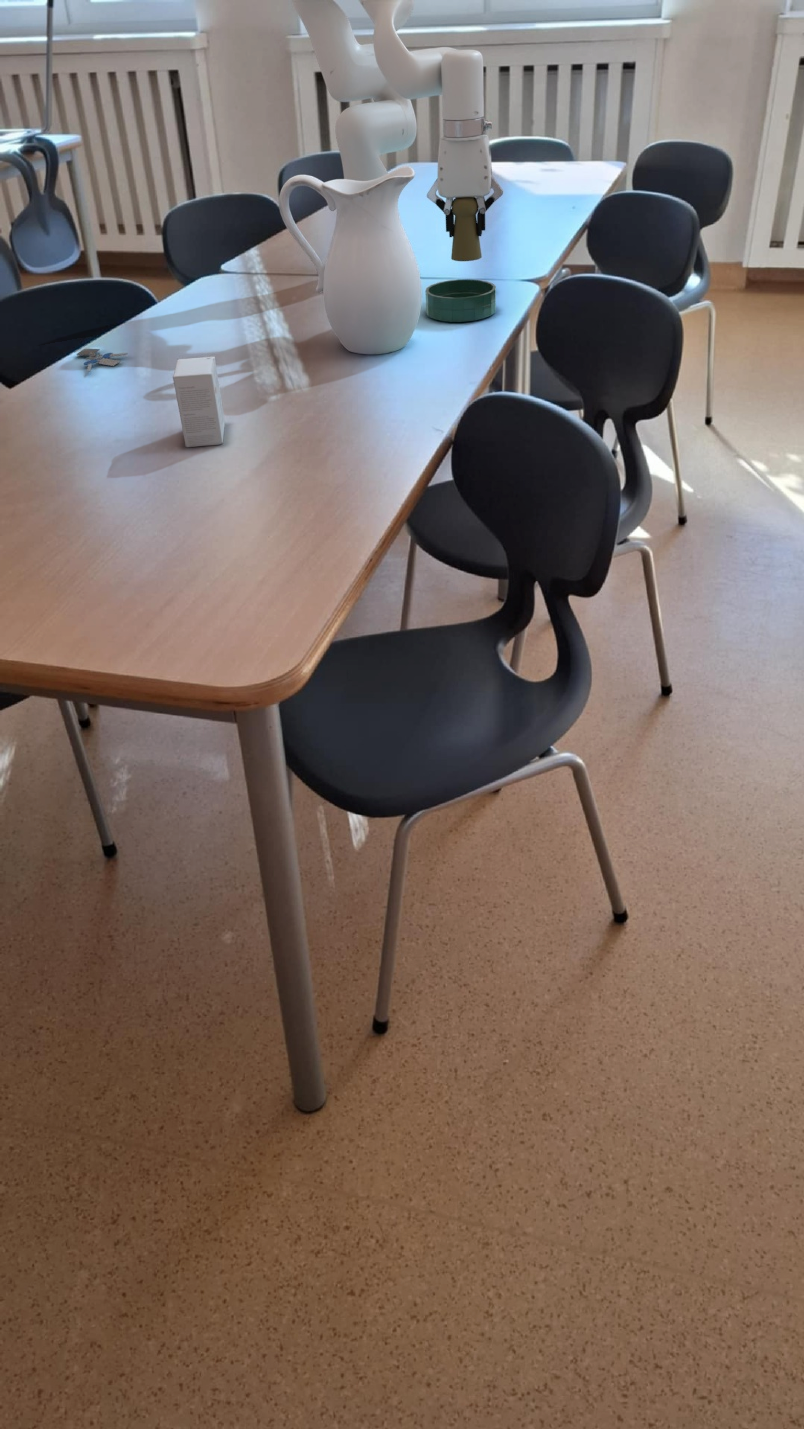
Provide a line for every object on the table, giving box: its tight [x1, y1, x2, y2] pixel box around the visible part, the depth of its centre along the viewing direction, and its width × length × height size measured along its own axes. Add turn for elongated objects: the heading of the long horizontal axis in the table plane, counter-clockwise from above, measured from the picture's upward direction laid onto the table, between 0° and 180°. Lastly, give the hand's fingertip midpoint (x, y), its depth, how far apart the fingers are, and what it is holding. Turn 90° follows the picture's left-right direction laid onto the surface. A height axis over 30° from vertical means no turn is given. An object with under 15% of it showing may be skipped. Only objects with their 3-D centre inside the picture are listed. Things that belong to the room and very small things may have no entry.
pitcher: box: [278, 165, 423, 355], centre depth 182 cm, size 24×17×28 cm
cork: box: [450, 197, 483, 262], centre depth 206 cm, size 6×6×11 cm
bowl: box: [424, 278, 497, 323], centre depth 201 cm, size 13×13×4 cm
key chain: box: [76, 348, 128, 373], centre depth 190 cm, size 14×8×1 cm, turn 23°
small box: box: [172, 356, 226, 448], centre depth 155 cm, size 8×6×10 cm
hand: (465, 234), depth 206 cm, fingers closed on cork, 4 cm apart
